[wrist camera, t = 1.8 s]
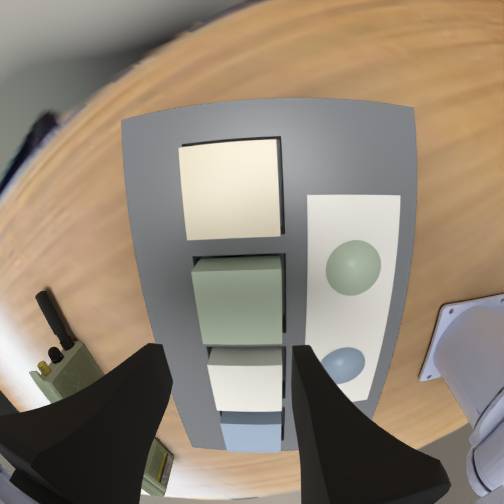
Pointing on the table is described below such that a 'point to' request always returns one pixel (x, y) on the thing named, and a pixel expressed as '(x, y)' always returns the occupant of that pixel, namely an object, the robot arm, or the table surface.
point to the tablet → (6, 406)
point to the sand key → (230, 190)
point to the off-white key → (246, 378)
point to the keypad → (284, 240)
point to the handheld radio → (79, 377)
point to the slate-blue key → (251, 431)
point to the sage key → (239, 300)
